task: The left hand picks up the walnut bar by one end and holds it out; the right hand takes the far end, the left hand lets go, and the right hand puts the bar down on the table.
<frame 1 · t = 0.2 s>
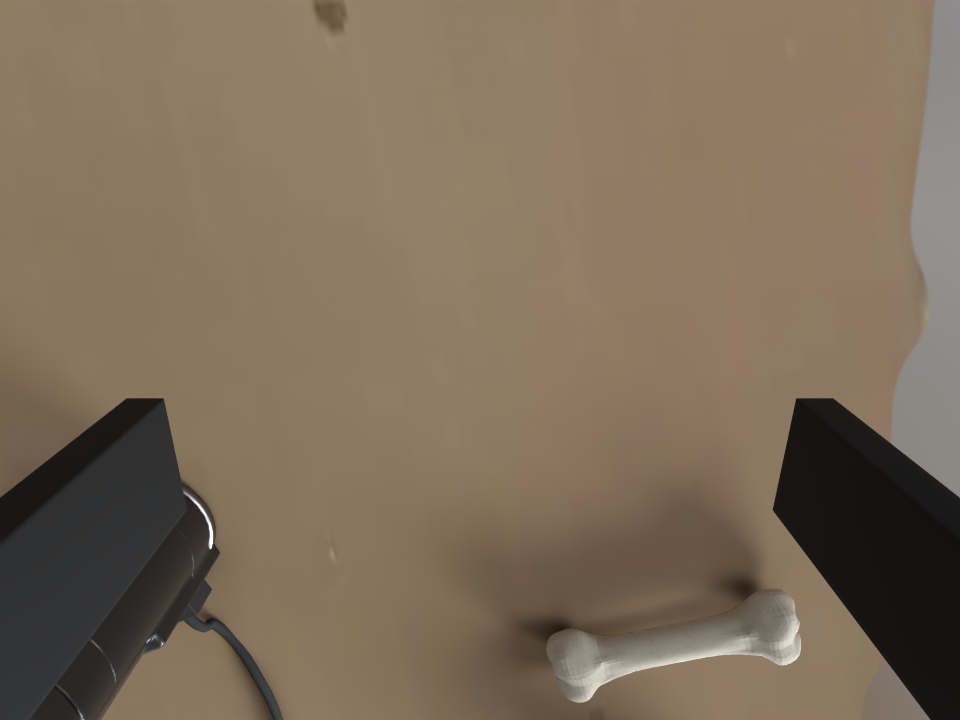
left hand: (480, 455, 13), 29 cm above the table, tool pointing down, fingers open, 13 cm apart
dog toy: (662, 621, 52), on the table
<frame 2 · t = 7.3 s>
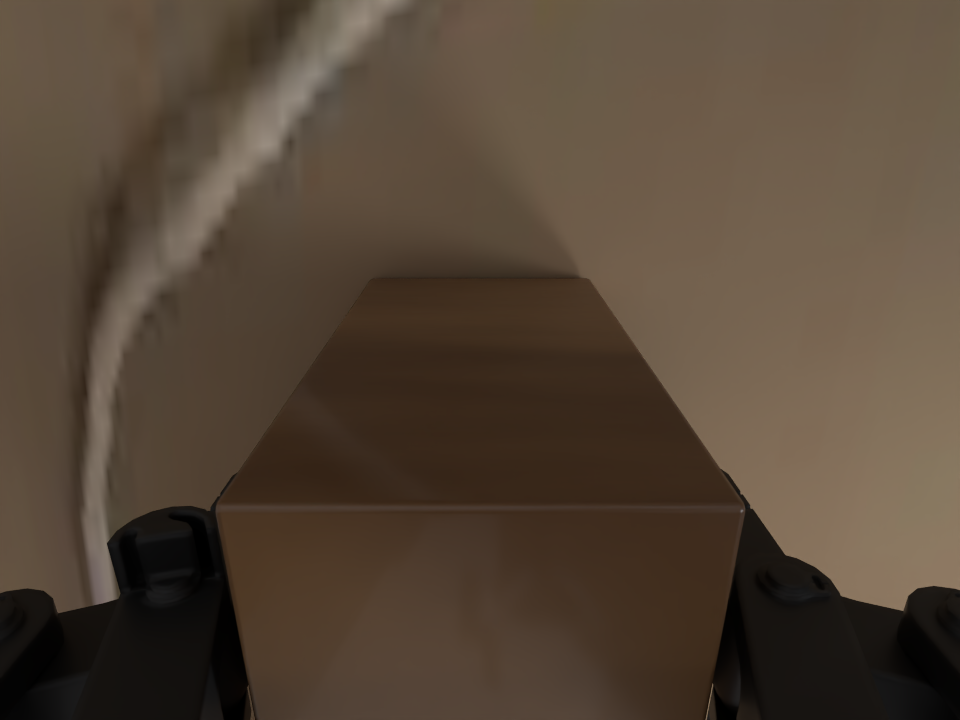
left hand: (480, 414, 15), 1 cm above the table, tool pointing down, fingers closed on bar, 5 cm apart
bar: (480, 680, 19), on the table, touching left hand
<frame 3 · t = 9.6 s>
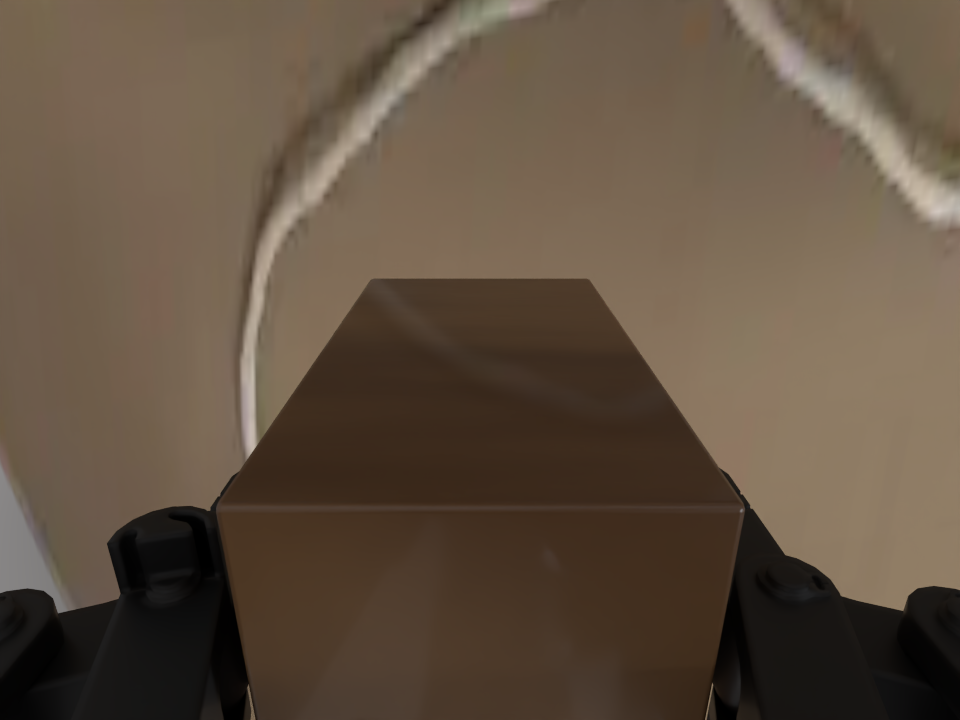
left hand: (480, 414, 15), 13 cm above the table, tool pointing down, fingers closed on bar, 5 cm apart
bar: (480, 680, 19), point 12 cm above the table, touching left hand
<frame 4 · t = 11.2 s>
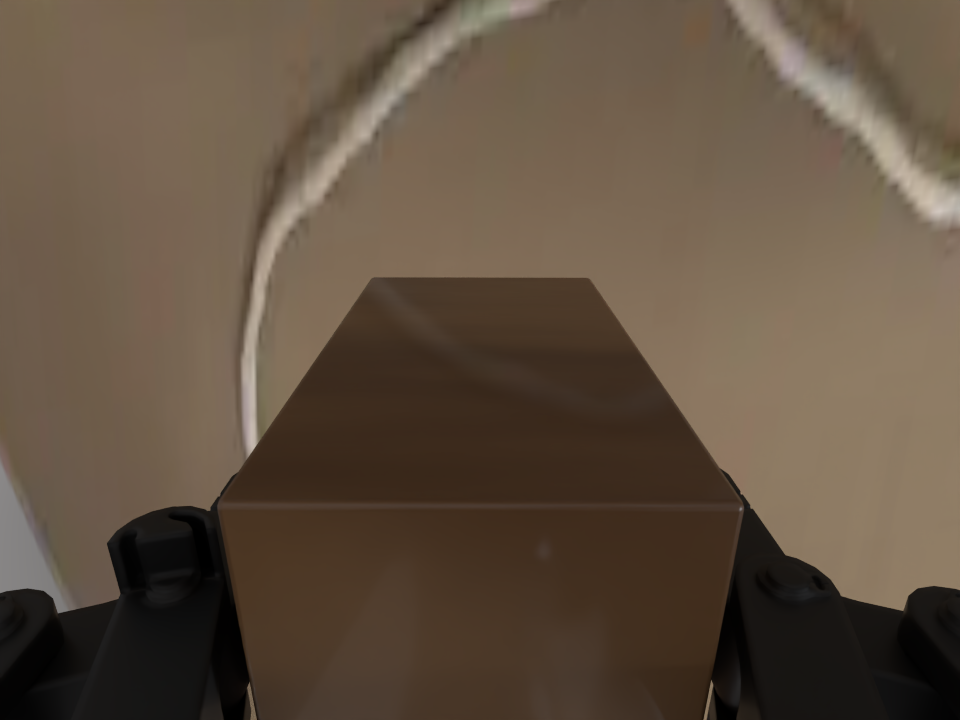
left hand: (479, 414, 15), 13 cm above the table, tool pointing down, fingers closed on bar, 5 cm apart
bar: (479, 678, 19), point 12 cm above the table, touching left hand, right hand
when the left hand's fingers open (13 cm above the table, at t = 12.0 s): bar stays where it is, held by the right hand.
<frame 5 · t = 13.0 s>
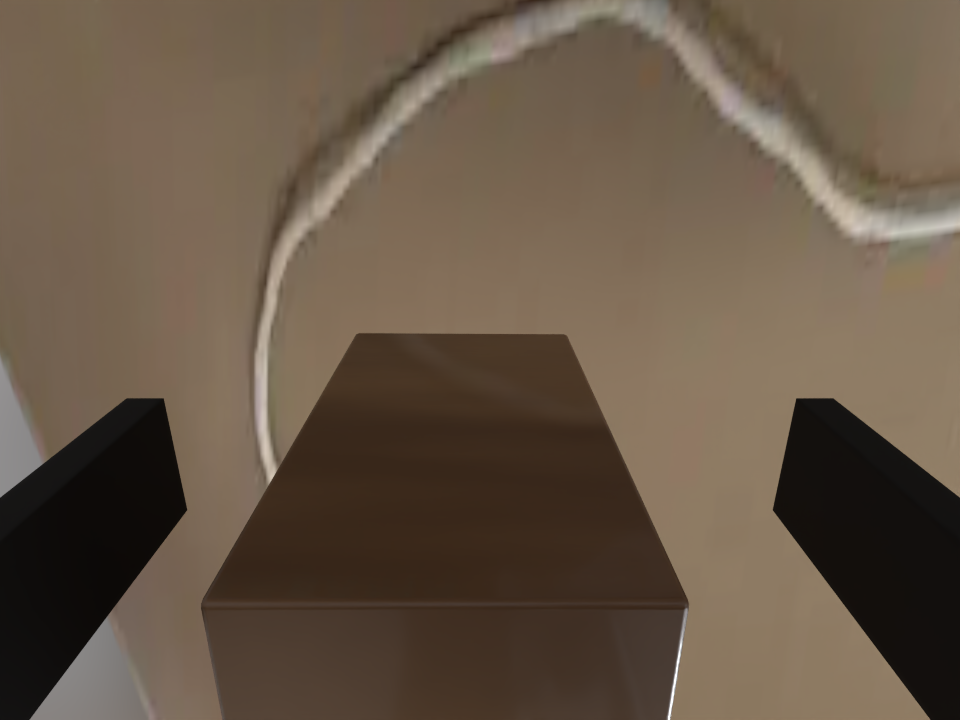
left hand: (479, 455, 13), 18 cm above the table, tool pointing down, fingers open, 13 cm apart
bar: (462, 716, 19), point 16 cm above the table, touching right hand
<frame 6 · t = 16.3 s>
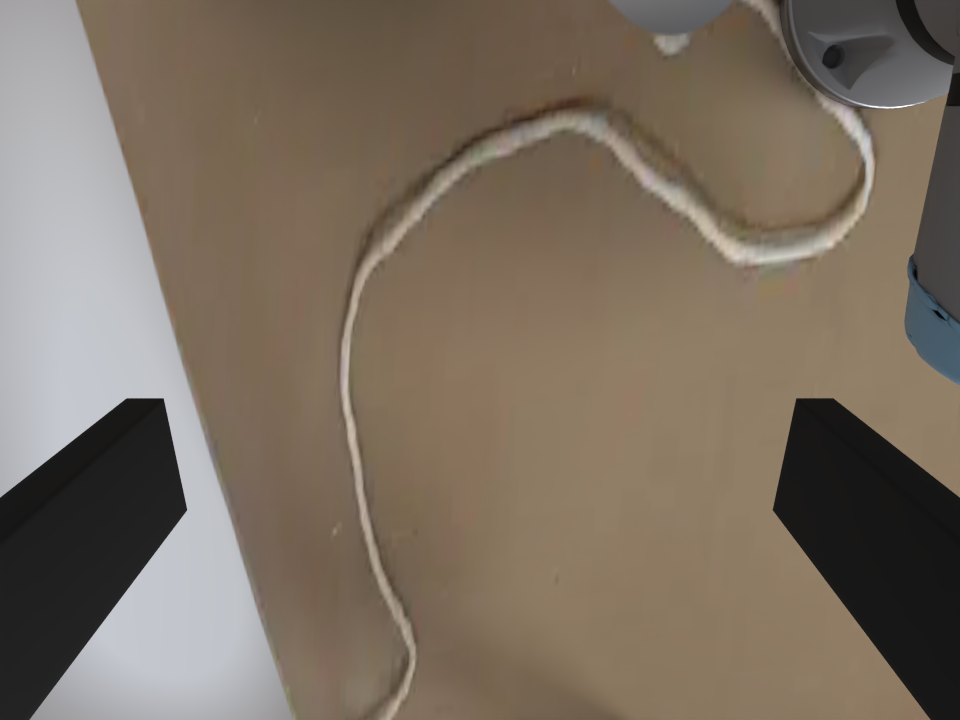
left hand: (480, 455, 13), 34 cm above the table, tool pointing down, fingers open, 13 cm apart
when the right hand's fingers open (6 cm above the table, at t = 21.5 s): bar drops 1 cm, on the table.
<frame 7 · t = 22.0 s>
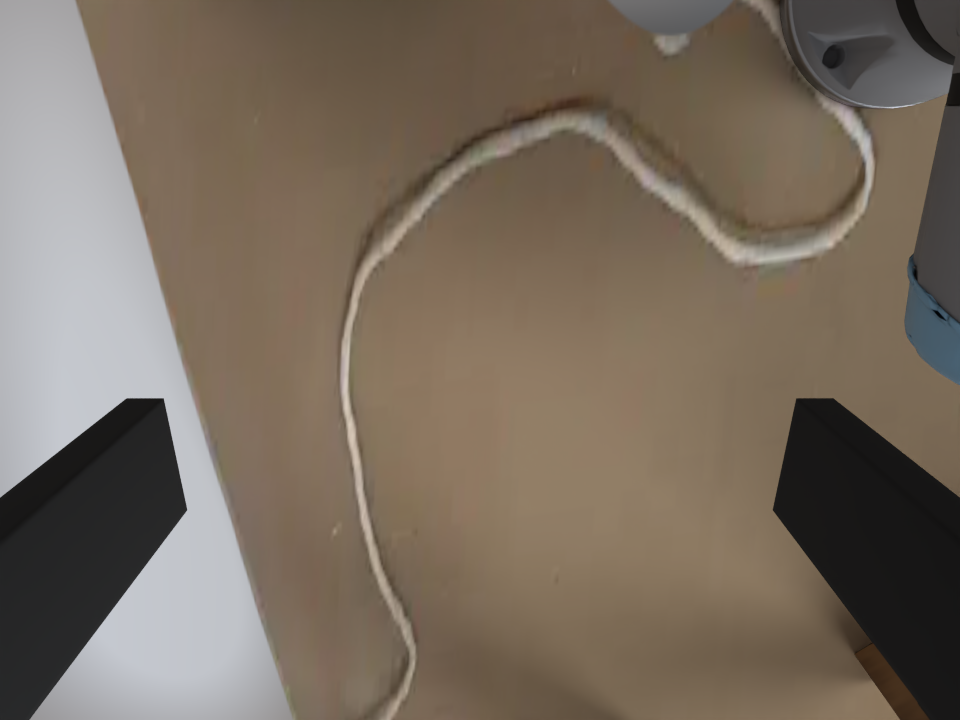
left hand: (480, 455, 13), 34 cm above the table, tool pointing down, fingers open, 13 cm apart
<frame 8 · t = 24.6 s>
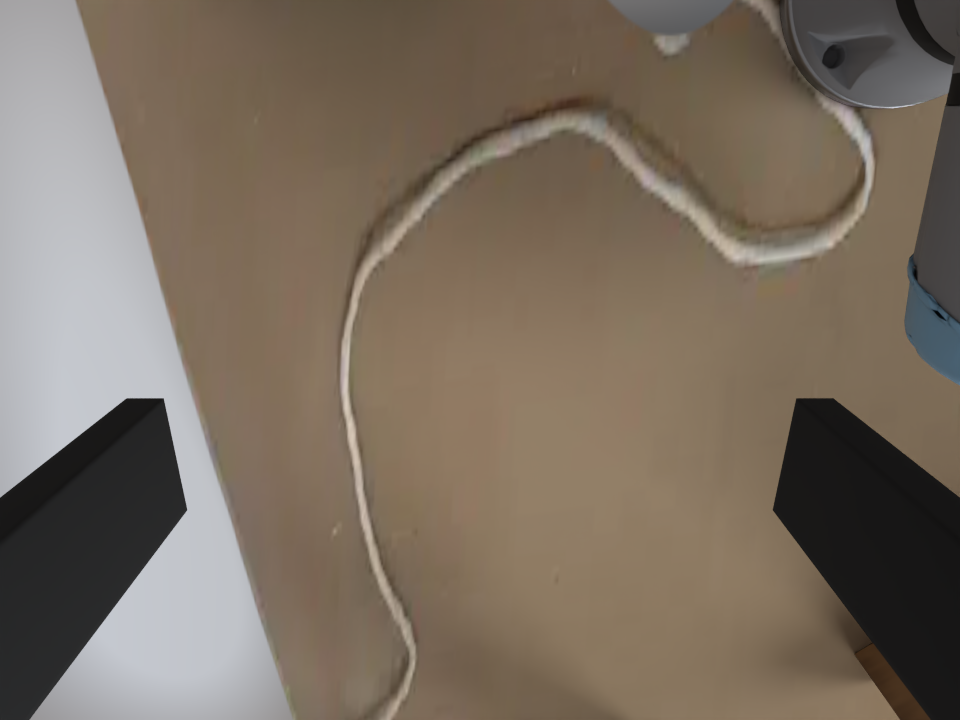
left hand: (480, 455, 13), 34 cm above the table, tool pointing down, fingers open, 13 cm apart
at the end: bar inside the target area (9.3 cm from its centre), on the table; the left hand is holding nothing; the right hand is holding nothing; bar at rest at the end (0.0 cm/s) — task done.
